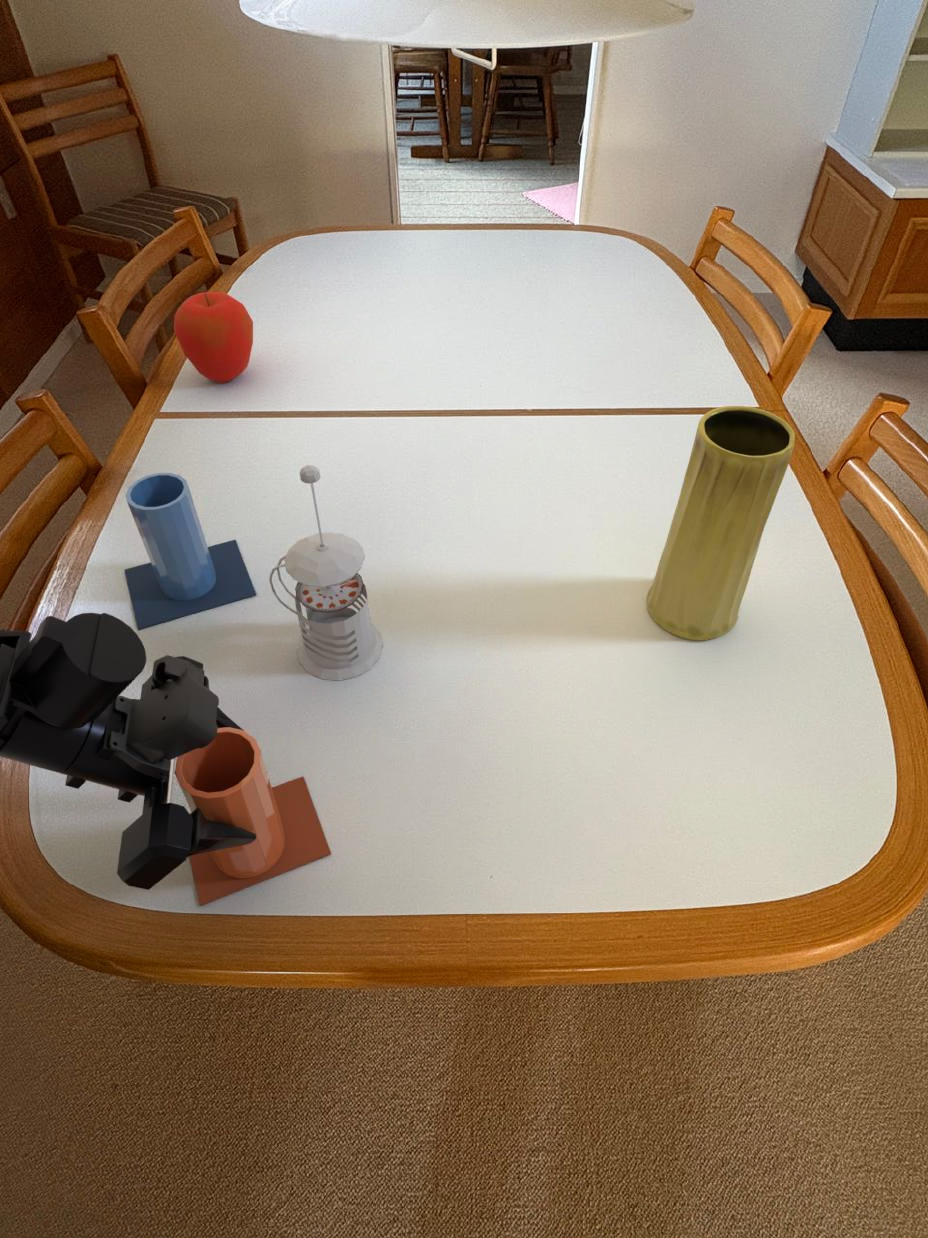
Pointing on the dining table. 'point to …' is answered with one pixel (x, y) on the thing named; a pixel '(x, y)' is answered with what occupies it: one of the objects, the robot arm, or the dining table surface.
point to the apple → (215, 335)
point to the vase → (719, 520)
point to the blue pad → (160, 608)
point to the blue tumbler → (172, 535)
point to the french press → (330, 601)
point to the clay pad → (299, 849)
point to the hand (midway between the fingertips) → (254, 791)
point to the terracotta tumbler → (234, 799)
